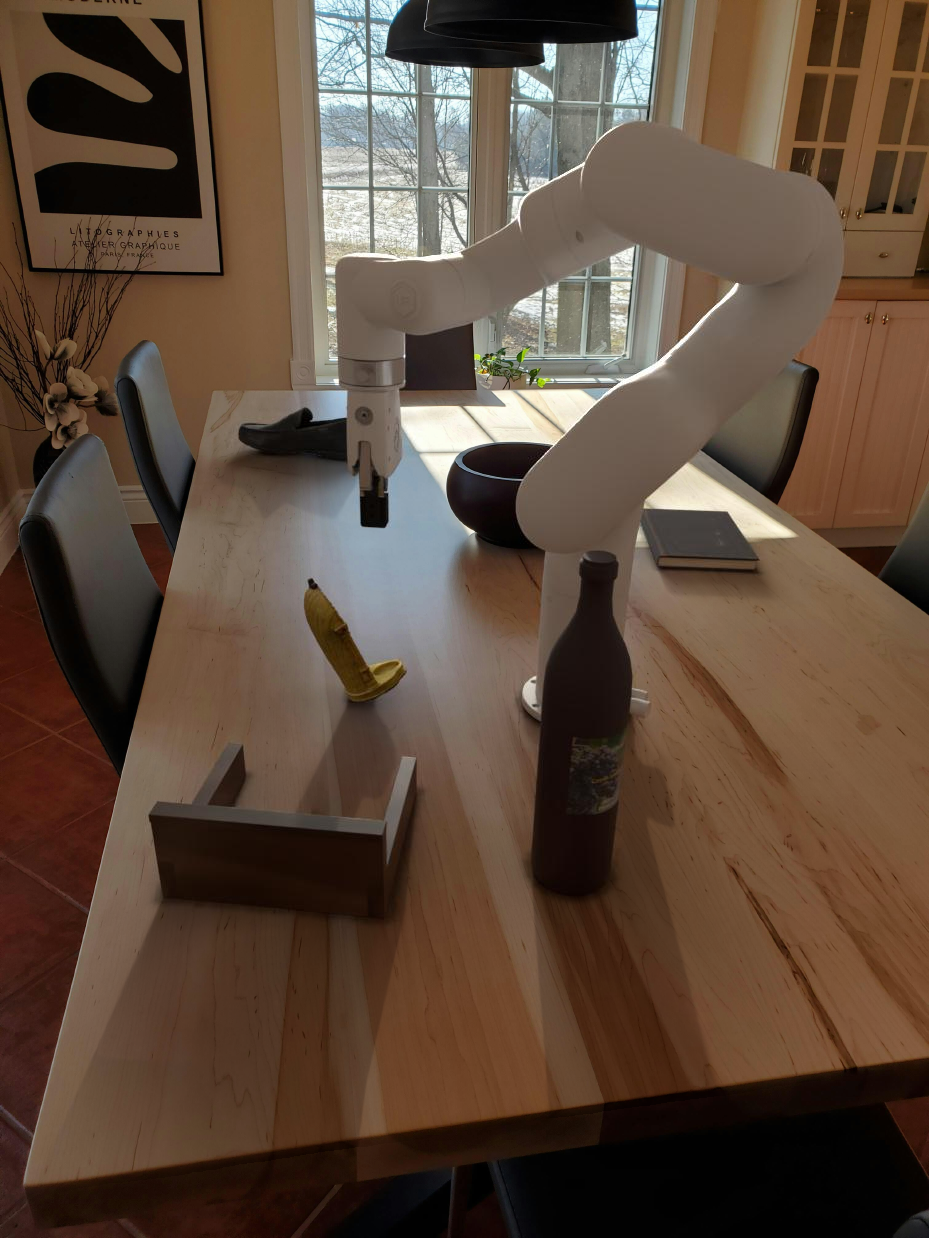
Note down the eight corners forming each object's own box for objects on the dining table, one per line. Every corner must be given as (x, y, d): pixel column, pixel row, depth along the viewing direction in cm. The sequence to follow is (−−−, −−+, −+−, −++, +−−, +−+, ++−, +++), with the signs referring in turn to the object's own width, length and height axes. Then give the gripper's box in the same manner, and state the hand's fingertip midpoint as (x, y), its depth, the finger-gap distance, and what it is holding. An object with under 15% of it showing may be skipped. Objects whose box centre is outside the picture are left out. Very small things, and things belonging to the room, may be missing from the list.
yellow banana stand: (304, 714, 102) (297, 594, 96) (313, 679, 109) (306, 565, 103) (406, 714, 103) (405, 595, 96) (407, 679, 110) (407, 566, 103)
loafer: (248, 443, 206) (244, 398, 201) (372, 450, 202) (371, 405, 198) (231, 455, 196) (227, 408, 192) (361, 463, 193) (359, 415, 189)
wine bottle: (554, 906, 76) (582, 580, 63) (516, 854, 82) (535, 546, 68) (625, 884, 78) (666, 567, 65) (584, 835, 84) (614, 535, 71)
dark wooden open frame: (232, 775, 91) (224, 700, 88) (416, 790, 90) (416, 715, 86) (161, 898, 76) (147, 814, 72) (384, 919, 74) (382, 835, 70)
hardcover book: (725, 523, 164) (727, 511, 163) (757, 572, 143) (759, 559, 142) (637, 520, 164) (639, 508, 163) (656, 568, 144) (658, 555, 143)
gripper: (392, 387, 95) (394, 549, 103) (414, 361, 108) (414, 507, 116) (323, 383, 95) (329, 545, 103) (353, 359, 109) (357, 504, 117)
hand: (374, 525), depth 110 cm, fingers closed
